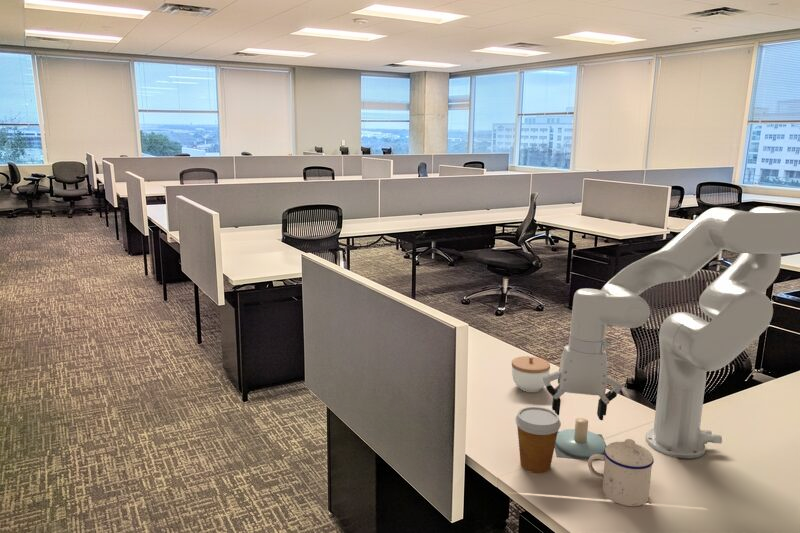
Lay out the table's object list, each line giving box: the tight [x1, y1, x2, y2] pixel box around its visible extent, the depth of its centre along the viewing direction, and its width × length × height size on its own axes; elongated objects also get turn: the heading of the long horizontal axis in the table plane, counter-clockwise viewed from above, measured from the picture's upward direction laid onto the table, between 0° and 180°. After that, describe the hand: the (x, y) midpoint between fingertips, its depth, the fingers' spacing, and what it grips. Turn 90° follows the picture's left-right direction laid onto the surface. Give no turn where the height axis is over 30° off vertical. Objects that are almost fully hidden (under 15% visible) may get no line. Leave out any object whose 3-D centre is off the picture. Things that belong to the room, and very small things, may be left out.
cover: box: [556, 417, 607, 458], centre depth 132 cm, size 11×11×6 cm
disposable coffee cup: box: [514, 406, 562, 474], centre depth 124 cm, size 10×10×12 cm
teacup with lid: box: [587, 438, 655, 507], centre depth 115 cm, size 12×9×12 cm
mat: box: [554, 431, 607, 462], centre depth 133 cm, size 12×12×1 cm
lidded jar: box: [511, 355, 551, 393], centre depth 164 cm, size 11×11×9 cm
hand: (578, 415), depth 131 cm, fingers open, 9 cm apart
